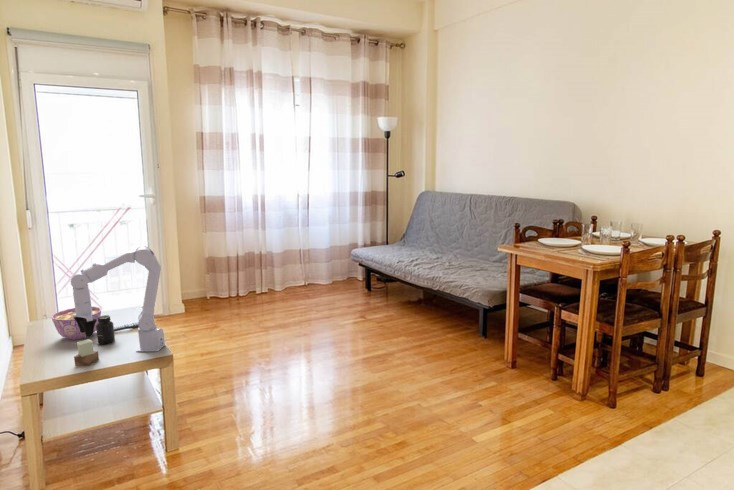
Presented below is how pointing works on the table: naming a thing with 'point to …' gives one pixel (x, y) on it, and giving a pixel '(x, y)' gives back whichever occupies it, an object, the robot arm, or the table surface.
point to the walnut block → (86, 359)
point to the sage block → (85, 347)
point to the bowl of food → (72, 323)
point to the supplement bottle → (105, 330)
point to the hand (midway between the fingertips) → (86, 334)
